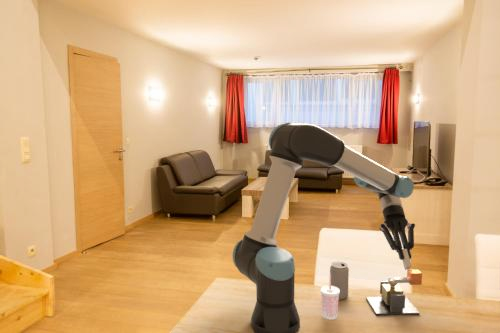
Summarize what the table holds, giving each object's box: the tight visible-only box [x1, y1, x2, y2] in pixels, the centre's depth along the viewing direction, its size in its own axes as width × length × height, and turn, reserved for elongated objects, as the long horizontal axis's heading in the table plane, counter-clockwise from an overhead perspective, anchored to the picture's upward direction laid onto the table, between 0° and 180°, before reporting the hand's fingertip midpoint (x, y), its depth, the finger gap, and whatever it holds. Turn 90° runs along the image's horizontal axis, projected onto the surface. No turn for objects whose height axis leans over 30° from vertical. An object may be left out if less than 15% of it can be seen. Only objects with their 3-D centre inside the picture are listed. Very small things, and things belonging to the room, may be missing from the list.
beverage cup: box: [320, 274, 340, 321], centre depth 124 cm, size 6×6×14 cm
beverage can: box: [329, 261, 350, 301], centre depth 137 cm, size 6×6×12 cm
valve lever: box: [387, 269, 423, 286], centre depth 128 cm, size 10×3×4 cm, turn 90°
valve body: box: [365, 280, 421, 317], centre depth 129 cm, size 14×11×8 cm
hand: (408, 267), depth 133 cm, fingers closed
